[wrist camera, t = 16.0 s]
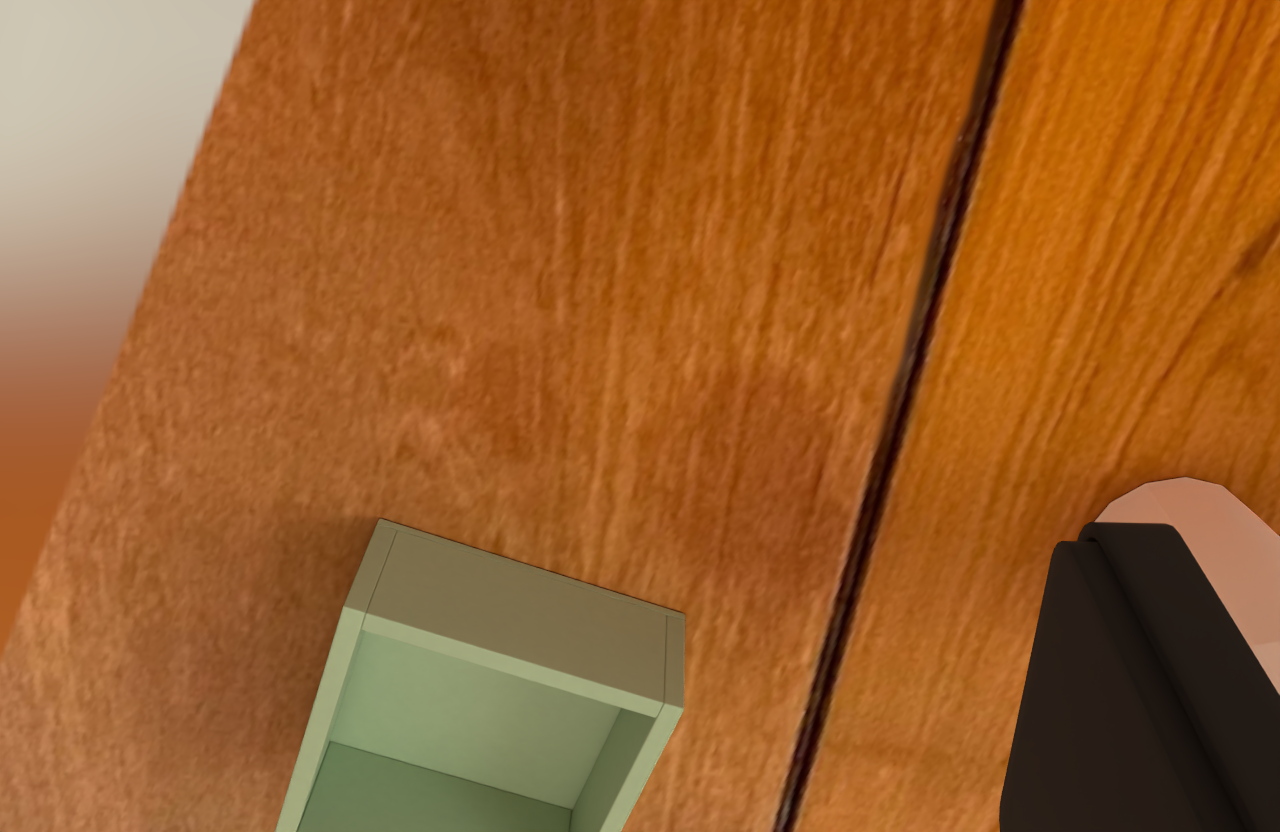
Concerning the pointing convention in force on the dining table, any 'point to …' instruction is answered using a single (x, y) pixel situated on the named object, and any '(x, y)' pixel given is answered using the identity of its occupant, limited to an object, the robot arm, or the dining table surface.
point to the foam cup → (1220, 553)
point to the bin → (483, 698)
